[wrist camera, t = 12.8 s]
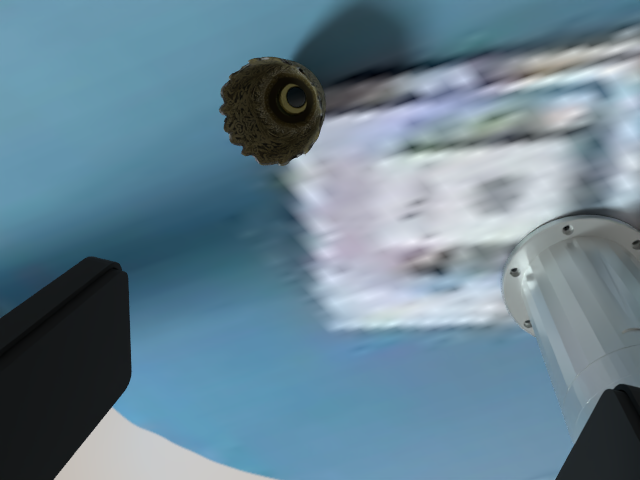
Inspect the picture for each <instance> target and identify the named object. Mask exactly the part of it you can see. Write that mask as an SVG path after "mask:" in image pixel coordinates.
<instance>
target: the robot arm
mask: <svg viewBox="0 0 640 480" xmlns="http://www.w3.org/2000/svg"><path fill="white" fill-rule="evenodd" d="M567 225H568V227H567V228H566V229H564V227H565V226H567ZM636 240H637V241H636ZM634 241H636V242H634ZM633 242H634V243H633ZM513 268H516V269H515V270H512V269H513ZM501 287H502V295H503V299H504V303H505V305H506V307H507V310H508V312H509V314H510V315H511V317H512V318H513V320H514V321H515V322H516V323H517V324H518V325H519V326H520V327H521V328H522V329H523V330H524V331H526V332H528V333H529V334H531V335H532V336H534V337H536V339H537V342H538V345H539V348H540V350H541V353H542V356H543V359H544V362H545V365H546V368H547V371H548V373H549V376H550V379H551V382H552V385H553V388H554V391H555V394H556V397H557V399H558V402H559V405H560V408H561V411H562V414H563V417H564V420H565V423H566V425H567V428H568V431H569V434H570V437H571V439H572V441H573V444H574V446H573V448H572V450H571V452H570V454H569V455H568V457H567V459H566V461H565V463H564V465H563V466H562V468H561V470H560V472H559V474H558V476H557V478H556V479H555V480H640V231H638V230H637V229H635V228H634V227H632V226H631V225H629V224H627V223H625V222H622V221H620V220H617V219H615V218H611V217H606V216H601V215H577V216H569V217H565V218H561V219H558V220H554V221H551V222H549V223H547V224H545V225H543V226H541V227H539V228H537V229H536V230H534V231H533V232H531V233H530V234H528V235H527V236H526V237H525V238H524V239H523V240H522V241H521V242H520V243H519V244H518V245H517V246H516V247H515V248H514V250H513V251H512V253H511V254H510V255H509V257H508V259H507V261H506V264H505V266H504V268H503V274H502V279H501ZM130 378H131V344H130V315H129V287H128V275H127V273H126V272H124V271H122V268H121V266H120V264H119V263H117V262H113V261H109V260H105V259H101V258H97V257H87V258H85V259H84V260H82V261H81V262H79V263H78V264H77V265H75V266H74V267H72V268H71V269H69V270H68V271H67V272H65V273H64V274H62V275H61V276H60V277H58V278H57V279H55V280H54V281H53V282H51V283H50V284H48V285H47V286H45V287H44V288H43V289H41V290H40V291H38V292H37V293H36V294H34V295H33V296H31V297H30V298H29V299H27V300H26V301H24V302H23V303H21V304H20V305H19V306H17V307H16V308H14V309H13V310H12V311H10V312H9V313H7V314H6V315H5V316H3V317H2V318H0V480H54V478H55V477H56V476H57V475H58V473H59V472H60V471H61V469H62V468H63V467H64V466H65V465H66V463H67V462H68V461H69V460H70V458H71V457H72V456H73V455H74V453H75V452H76V451H77V449H78V448H79V447H80V446H81V445H82V443H83V442H84V441H85V440H86V438H87V437H88V436H89V435H90V433H91V432H92V431H93V430H94V429H95V427H96V426H97V425H98V423H99V422H100V421H101V420H102V419H103V417H104V416H105V415H106V414H107V412H108V411H109V410H110V409H111V407H112V406H113V405H114V404H115V402H116V401H117V400H118V399H119V397H120V396H121V395H122V394H123V392H124V391H125V390H126V388H127V386H128V384H129V382H130Z"/></svg>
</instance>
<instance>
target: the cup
mask: <svg viewBox="0 0 640 480" xmlns="http://www.w3.org/2000/svg"><path fill="white" fill-rule="evenodd" d="M248 62H249V63H248V64H247V65H245V66H243V67H242V68H241V69H240V70H239V71H236V72H235V73H232V74H231V75H230V76H229V79H230V80H229V81H228V82H227V83H226V84H225V85H224V86H223V87H222V89H221V97H222V98H223V100H224V104H223V105H222V106H221V107H220V109H219V112H220V113H221V114H222V115H225V116H227V117H226V118H225V120H224V122H225V124H224V131H225V132H227V133H228V134H230V135H229V138H230V142H231V143H232V144H234V145H238V146H243V150H242V153H241V154H242V155H244V156H249V155H252V156H253V157H254V158H255V160H256V161H257V162H258V163H259V164H261V165H273V164H278V165H280V166H284V165H287V164H288V163H289V162H290V161H291V160H292V159H294V158H297V157H299V156H300V155H302V154H306V153H307V152H308V151H309V150H310V149H311V148H312V146H313V144H314V143H315V142H316V140H317V139H318V137H319V134H320V130H321V127H322V124H323V121H324V117H325V112H326V100H325V94H324V91H323V88H322V86H321V84H320V82H319V80H318V79H317V78H316V76H315V75H314V74H313V73H312V72H311V71H310V70H309V69H307V68H306V67H304V66H303V65H301V64H299V63H297V62H294V61H290V60H286V59H280V58H276V57H262V58H253V59H251V60H249V61H248ZM294 87H297V88H300V89H302V90H303V91H304V93H305V96H306V100H305V103H304V104H303V105H302V106H301V107H293V106H291V105H290V104H289V103H288V101H287V93H288V91H289V90H290V89H291V88H294Z"/></svg>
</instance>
